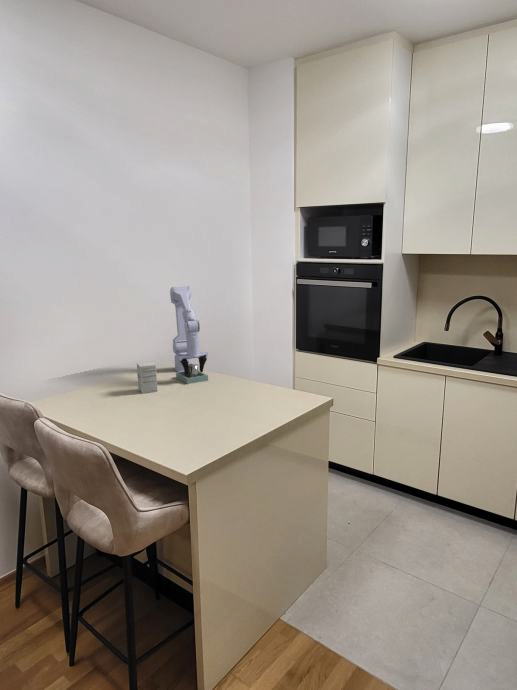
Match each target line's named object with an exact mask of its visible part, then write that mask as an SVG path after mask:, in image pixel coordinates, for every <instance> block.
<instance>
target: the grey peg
mask: <svg viewBox="0 0 517 690" xmlns="http://www.w3.org/2000/svg"><path fill="white" fill-rule="evenodd" d="M191 364H192V365H190V378H191V377H197V376H199V375H198V370H199V364H196V363H195V364H193V363H191Z"/></svg>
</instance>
